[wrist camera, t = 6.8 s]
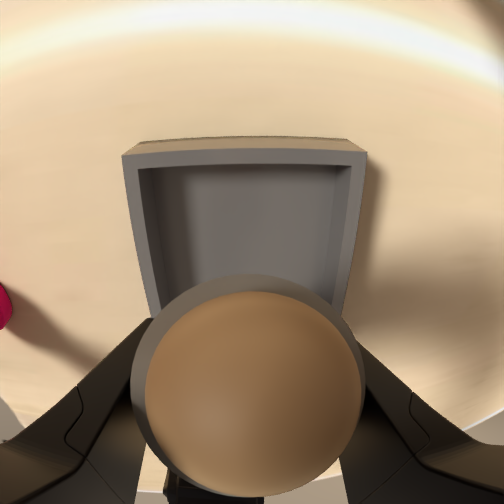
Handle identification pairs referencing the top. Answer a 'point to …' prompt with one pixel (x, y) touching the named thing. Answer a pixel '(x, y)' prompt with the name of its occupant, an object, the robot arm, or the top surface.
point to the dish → (244, 211)
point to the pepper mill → (4, 308)
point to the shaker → (248, 385)
